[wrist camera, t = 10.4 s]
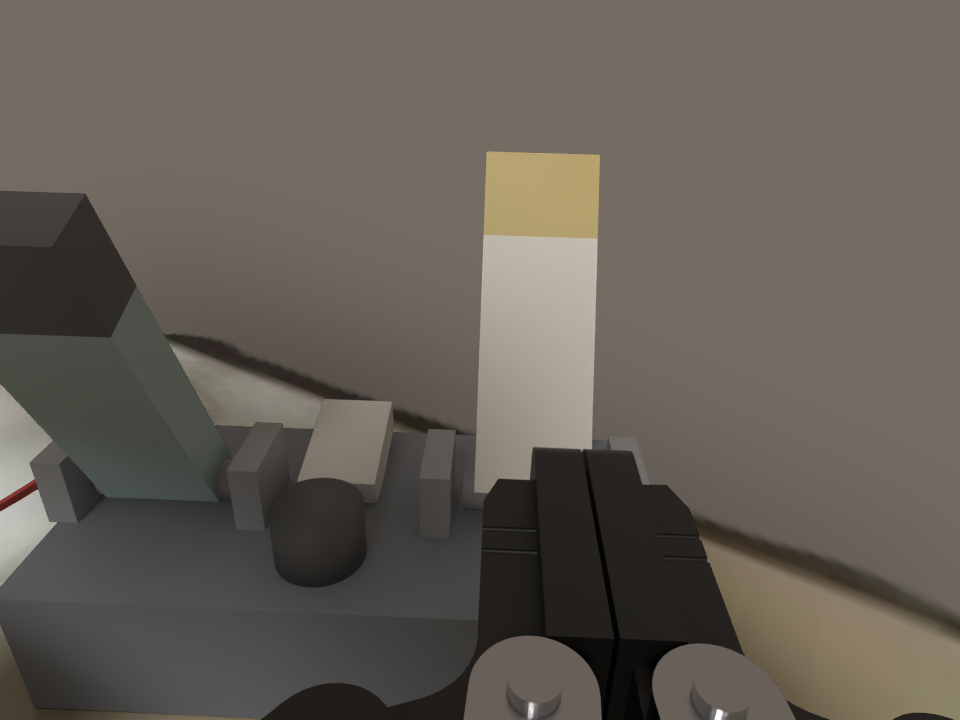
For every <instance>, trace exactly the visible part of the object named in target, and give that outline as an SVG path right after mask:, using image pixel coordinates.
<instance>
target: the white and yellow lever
mask: <svg viewBox="0 0 960 720" xmlns="http://www.w3.org/2000/svg"><path fill="white" fill-rule="evenodd" d="M599 166H600V155H582V154H580V155H579V154H549V153H516V152H487V164H486V190H485V217H484V245H483V270H482V297H481V324H480V350H479V377H478V404H477V405H478V406H477V430H476V456H475V469H464V478H463V509H483V503H484V499H485V497H486V496H487V494H488V493H489V492H490V490H491V489H492V487H493V486H494V484H495V483H496V481H497V480H498V479H520V480H530V471H531V458H532V450H533V447H544V448H569V449H580V450H581V452H582V451H583V449H592V423H593V386H594V349H595V346H594V345H595V312H596V274H597V237H598V201H599Z"/></svg>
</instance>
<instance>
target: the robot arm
mask: <svg viewBox="0 0 960 720" xmlns="http://www.w3.org/2000/svg"><path fill="white" fill-rule="evenodd" d="M261 720H829V719H826V718H823V717H820V716H817V715H815V714H812V713H810V712H807V711H805V710H803V709H801V708H799V707H797V706H795V705H793V704H792V703H790V702H789V701H787V700H786V699H785V697H784V695H783V694H782V692H781V690H780V688H779V687H778V686H777V684H776V683H775V682H774V680H773V679H772V678H771V677H770V676H769V675H768V674H767V673H766V672H765V671H764V670H763V669H762V668H761V667H759V666H758V665H757V664H756V663H754V662H753V661H751V660H750V659H748V658H746V657H745V656H744V653H743V651H742V649H741V646H740V644H739V641H738V638H737V636H736V633H735V630H734V628H733V625H732V622H731V619H730V617H729V614H728V611H727V609H726V606H725V603H724V601H723V598H722V595H721V593H720V590H719V587H718V585H717V582H716V579H715V577H714V574H713V571H712V568H711V566H710V563H707V555H706V552H705V550H704V547H703V544H702V542H701V540H699V534H698V531H697V528H696V526H695V523H694V520H693V517H692V515H691V512H690V509H689V508H688V507H687V506H686V505H685V504H684V503H683V502H682V501H681V500H680V499H679V498H678V497H677V496H676V494H675V493H674V492H673V491H672V490H671V489H670V488H669V487H668V486H667V485H645V484H642V481H641V478H640V475H639V471H638V468H637V464H636V461H635V457H634V455H633V453H632V451H623V450H598V449H583V451H582V452H581V450H580V449H569V448H544V447H533V450H532V458H531V471H530V480H520V479H498V480H497V481H496V483H495V484H494V486H493V487H492V489H491V490H490V492H489V493H488V494H487V496H486V497H485V499H484V503H483V525H482V548H481V570H480V592H479V615H478V637H477V645H476V649H475V652H474V655H473V658H472V659H471V661H470V663H469V665H468V666H467V668H466V669H465V670H464V672H463V673H462V674H461V675H460V676H459V677H458V678H457V679H456V680H455V681H454V682H452V683H451V684H450V685H448V686H447V687H445V688H444V689H442V690H440V691H438V692H436V693H434V694H432V695H429V696H426V697H423V698H420V699H416V700H412V701H409V702H405V703H401V704H398V705H394V706H390V707H387V706H386V705H385V704H384V703H383V702H382V701H381V699H380V698H379V697H377V696H376V695H375V694H373V693H372V692H370V691H368V690H366V689H364V688H362V687H360V686H356V685H352V684H347V683H326V684H321V685H316V686H313V687H310V688H307V689H304V690H302V691H300V692H298V693H296V694H294V695H292V696H291V697H289V698H288V699H287V700H285V701H284V702H282V703H281V704H280V705H278V706H277V707H276V708H275V709H274V710H272V711H271V712H270V713H269V714H267V715H266V716H265V717H264V718H262V719H261ZM893 720H953V719H951V718H947V717H944V716H940V715H936V714H929V713H910V714H904V715H901V716H899V717H897V718H894V719H893Z"/></svg>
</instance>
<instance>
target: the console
mask: <svg viewBox="0 0 960 720" xmlns="http://www.w3.org/2000/svg"><path fill="white" fill-rule="evenodd" d="M215 427H216V429H217V431H218V433H219V434H220V436H221V438H222V440H223V442H224V443H225V445H226V447H227V449H228V451H229V452H230V454H231V456H232V462H231V464H230V465H229V467H228V469H227V470H226V473H227V478H228V484H229V489H230V495H231V499H219V502H210V501H185V500H161V499H136V498H112V497H106V496H105V495H104V494H100V493H98V492H97V490H96V488H95V486H94V483H93V482H92V481H91V480H90V479H89V478H88V477H87V476H86V475H85V474H84V473H83V472H82V470H81V469H80V468H79V467H78V466H77V465H76V464H75V463H74V462H73V461H72V460H71V459H70V458H69V456H68V455H67V454H66V453H65V452H64V451H63V450H62V449H61V448H60V447H59V446H58V445H57V444H56V443H55V441H54V440H53V441H52V442H51V443H50V444H49V445H48V446H47V447H46V448H45V449H44V450H43V451H42V452H41V453H40V454H38V455H37V456H36V457H35V458H34V459H33V460H32V461H31V462H30V466H31V469H32V472H33V475H34V478H35V481H36V484H37V487H38V490H39V492H40V495H41V498H42V501H43V504H44V507H45V510H46V513H47V516H48V519H49V522H58V523H57V524H56V525H55V526H54V527H53V528H52V529H51V530H50V532H49V533H48V534H47V535H46V536H45V537H44V538H43V539H42V541H41V542H40V543H39V544H38V545H37V546H36V547H35V548H34V550H33V551H32V552H31V553H30V554H29V555H28V556H27V557H26V559H25V560H24V561H23V562H22V563H21V564H20V565H19V566H18V568H17V569H16V570H15V571H14V572H13V573H12V574H11V575H10V577H9V578H8V579H7V580H6V581H5V582H4V583H3V584H2V586H1V587H0V625H1V627H2V629H3V632H4V634H5V637H6V639H7V641H8V644H9V646H10V649H11V651H12V654H13V656H14V658H15V661H16V663H17V666H18V668H19V670H20V673H21V675H22V678H23V680H24V682H25V685H26V687H27V690H28V692H29V694H30V697H31V699H32V702H33V704H34V707H35V708H54V709H76V710H97V711H118V712H139V713H160V714H181V715H202V716H223V717H244V718H264V717H265V716H266V715H267V714H269V713H270V712H271V711H272V710H274V709H275V708H276V707H277V706H278V705H280V704H281V703H282V702H284V701H285V700H287V699H288V698H289V697H291V696H292V695H294V694H296V693H298V692H300V691H302V690H304V689H307V688H310V687H313V686H316V685H321V684H326V683H347V684H352V685H356V686H360V687H362V688H364V689H366V690H368V691H370V692H372V693H373V694H375V695H376V696H377V697H379V698H380V699H381V701H382V702H383V703H384V704H385V705H386V706H387V707H390V706H394V705H398V704H401V703H405V702H409V701H412V700H416V699H420V698H423V697H426V696H429V695H432V694H434V693H436V692H438V691H440V690H442V689H444V688H445V687H447V686H448V685H450V684H451V683H452V682H454V681H455V680H456V679H457V678H458V677H459V676H460V675H461V674H462V673H463V672H464V670H465V669H466V668H467V666H468V665H469V663H470V661H471V659H472V658H473V655H474V652H475V649H476V645H477V637H478V615H479V592H480V570H481V548H482V525H483V509H463V478H464V469H475V456H476V435H456V430H442V429H428V434H425V433H399V432H393V429H394V421H393V409H392V402H388V401H361V400H335V399H324V400H323V403H322V406H321V409H320V412H319V415H318V419H317V422H316V425H315V428H314V429H295V428H283V423H260V422H256V423H255V425H254V426H253V427H243V426H217V425H215ZM592 449H598V450H623V451H632V453H633V455H634V457H635V461H636V464H637V468H638V471H639V475H640V478H641V481H642V484H645V485H650V482H649V479H648V476H647V472H646V469H645V466H644V462H643V459H642V456H641V453H640V449H639V446H638V443H637V440H636V437H625V436H624V437H623V436H608V441H605V440H592Z"/></svg>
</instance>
